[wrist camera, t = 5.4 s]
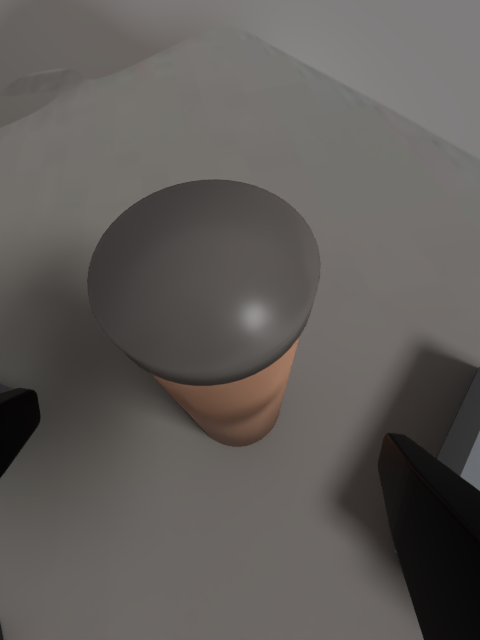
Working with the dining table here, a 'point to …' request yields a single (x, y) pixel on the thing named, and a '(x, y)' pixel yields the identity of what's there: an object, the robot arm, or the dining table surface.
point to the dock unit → (465, 438)
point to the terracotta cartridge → (210, 298)
